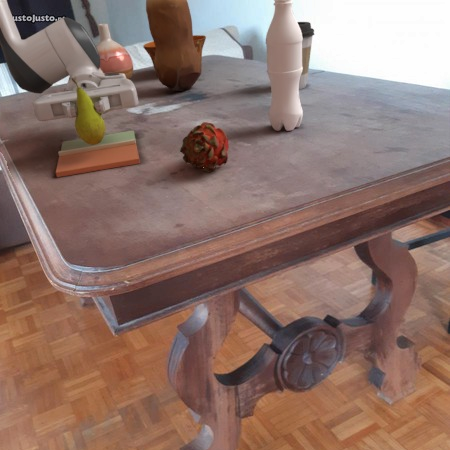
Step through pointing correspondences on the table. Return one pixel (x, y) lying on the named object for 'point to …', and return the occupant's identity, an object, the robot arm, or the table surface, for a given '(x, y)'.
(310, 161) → the table surface
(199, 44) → the bowl
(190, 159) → the dragon fruit
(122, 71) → the vase
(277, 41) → the water bottle
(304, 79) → the coffee cup
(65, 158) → the sorting board
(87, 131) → the fruit
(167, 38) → the butternut squash
